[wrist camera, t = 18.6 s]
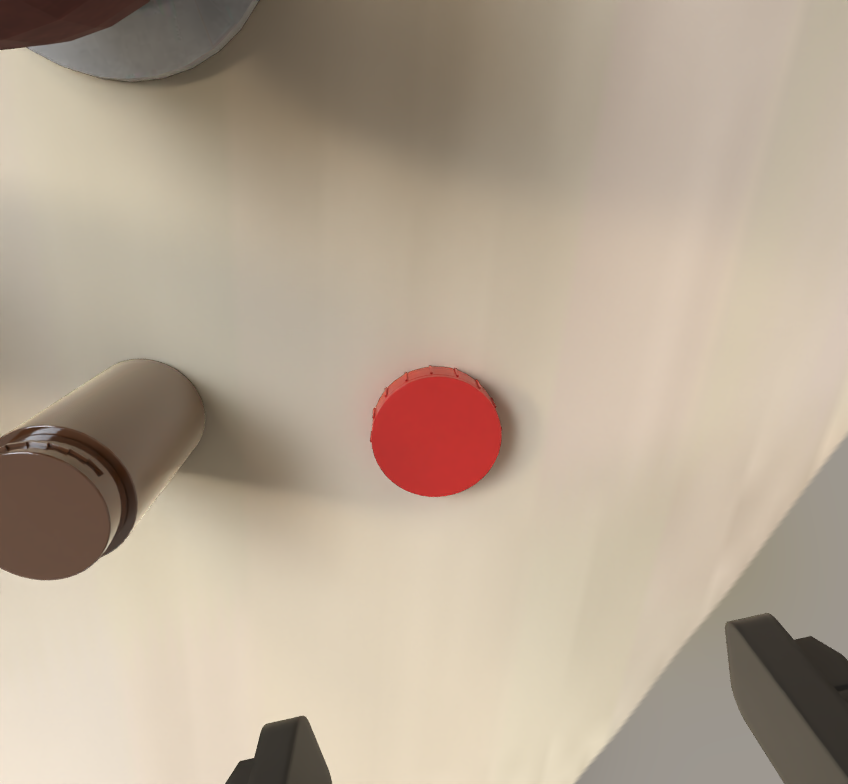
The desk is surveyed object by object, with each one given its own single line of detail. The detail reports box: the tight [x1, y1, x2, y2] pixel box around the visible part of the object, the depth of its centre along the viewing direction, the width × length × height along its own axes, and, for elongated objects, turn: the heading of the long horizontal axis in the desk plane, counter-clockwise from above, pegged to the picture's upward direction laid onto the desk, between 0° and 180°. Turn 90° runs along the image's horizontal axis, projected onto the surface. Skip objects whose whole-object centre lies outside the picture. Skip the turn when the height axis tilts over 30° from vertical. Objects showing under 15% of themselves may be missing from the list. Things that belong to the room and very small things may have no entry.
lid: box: [370, 365, 502, 497], centre depth 28 cm, size 6×6×2 cm
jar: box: [0, 359, 205, 580], centre depth 24 cm, size 5×5×9 cm
